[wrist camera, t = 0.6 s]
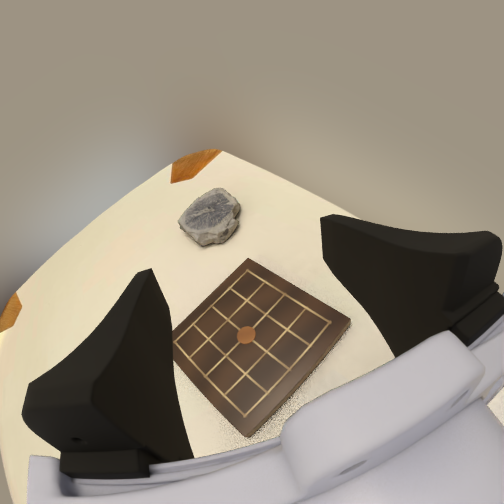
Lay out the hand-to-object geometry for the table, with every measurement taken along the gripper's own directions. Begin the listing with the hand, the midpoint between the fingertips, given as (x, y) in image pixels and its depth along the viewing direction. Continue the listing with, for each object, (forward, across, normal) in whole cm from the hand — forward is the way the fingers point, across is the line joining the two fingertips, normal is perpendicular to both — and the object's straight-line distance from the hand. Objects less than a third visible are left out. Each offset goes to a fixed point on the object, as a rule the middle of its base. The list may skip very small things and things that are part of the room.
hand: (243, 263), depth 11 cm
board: (+11, 0, +16) cm, 20 cm away
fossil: (+32, 0, +11) cm, 34 cm away
